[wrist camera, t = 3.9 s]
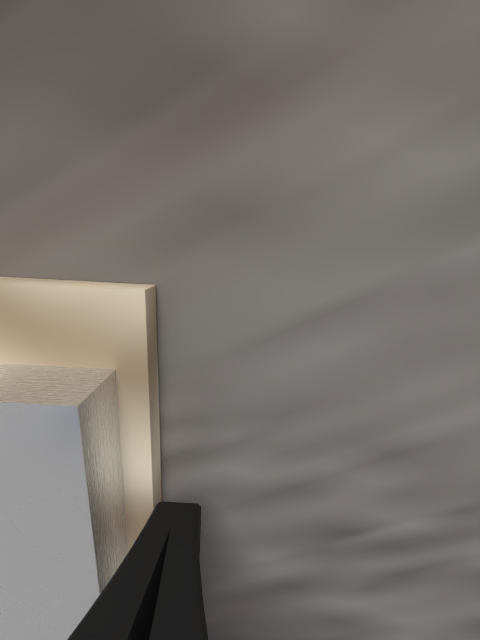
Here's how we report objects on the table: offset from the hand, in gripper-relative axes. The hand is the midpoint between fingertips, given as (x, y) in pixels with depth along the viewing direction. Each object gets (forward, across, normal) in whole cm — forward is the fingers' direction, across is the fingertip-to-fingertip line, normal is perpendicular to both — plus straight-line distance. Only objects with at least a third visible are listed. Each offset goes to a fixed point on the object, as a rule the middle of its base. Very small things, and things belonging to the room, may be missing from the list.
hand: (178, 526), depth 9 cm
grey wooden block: (+1, +6, 0) cm, 6 cm away
